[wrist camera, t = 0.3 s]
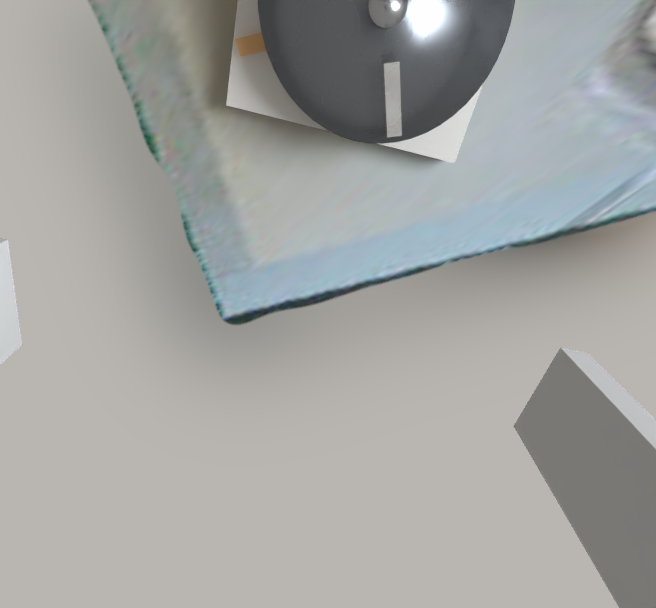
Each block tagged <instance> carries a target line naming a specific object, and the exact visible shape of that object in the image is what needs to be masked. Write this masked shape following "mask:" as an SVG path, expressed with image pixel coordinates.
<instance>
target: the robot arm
mask: <svg viewBox="0 0 656 608" xmlns="http://www.w3.org/2000/svg"><path fill="white" fill-rule="evenodd" d="M21 346H22V339H21V332H20V324H19V317H18V310H17V303H16V296H15V288H14V281H13V273H12V266H11V259H10V252H9V245H8V240H7V239H2V238H0V364H1V363H2V362H3V361H4V360H6V359H7V358H8V357H9V356H10V355H11V354H12V353H14V352H15V351H16V350H17V349H18V348H19V347H21ZM514 427H515V429H516V431H517V433H518V434H519V436H520V438H521V440H522V441H523V443H524V445H525V446H526V448H527V450H528V452H529V453H530V455H531V456H532V458H533V460H534V462H535V464H536V465H537V467H538V469H539V470H540V472H541V474H542V476H543V477H544V479H545V481H546V483H547V484H548V486H549V487H550V489H551V491H552V493H553V495H554V496H555V498H556V500H557V501H558V503H559V505H560V507H561V508H562V510H563V512H564V514H565V515H566V517H567V519H568V520H569V522H570V524H571V525H572V527H573V529H574V531H575V532H576V534H577V536H578V538H579V539H580V541H581V543H582V544H583V546H584V548H585V550H586V551H587V553H588V555H589V557H590V558H591V560H592V562H593V563H594V565H595V567H596V569H597V570H598V572H599V574H600V575H601V577H602V579H603V581H604V582H605V584H606V586H607V587H608V589H609V591H610V592H611V594H612V596H613V598H614V600H615V601H616V603H617V605H618V606H619V608H656V420H655V419H654V418H653V417H652V416H651V415H650V414H649V413H648V412H647V411H646V410H645V409H644V408H643V407H642V406H641V405H640V404H639V403H638V402H637V401H636V400H635V399H634V398H633V397H632V396H631V395H630V394H629V393H628V392H627V391H626V390H625V389H624V388H623V387H622V386H621V385H620V384H619V383H618V382H617V381H616V380H614V379H613V377H612V376H611V375H609V374H608V373H607V372H606V371H605V370H604V369H603V368H602V367H601V366H600V365H599V364H598V363H597V362H596V361H595V360H594V359H593V358H592V357H591V356H590V355H589V354H588V353H585V352H581V351H576V350H570V349H565V348H560V349H559V351H558V353H557V354H556V356H555V358H554V359H553V361H552V363H551V364H550V366H549V368H548V369H547V372H546V373H545V375H544V376H543V378H542V380H541V381H540V383H539V385H538V386H537V388H536V390H535V391H534V393H533V395H532V396H531V398H530V400H529V401H528V403H527V405H526V406H525V408H524V410H523V412H522V413H521V415H520V417H519V418H518V420H517V422H516V423H515V425H514Z"/></svg>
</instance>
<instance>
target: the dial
mask: <svg viewBox="0 0 656 608" xmlns="http://www.w3.org/2000/svg"><path fill="white" fill-rule="evenodd" d="M514 4H515V0H258V13H259V20H260V27H261V32H262V36H263V40H264V44H265V48H266V51H267V54H268V56H269V59H270V62H271V64H272V67H273V69H274V71H275V73H276V75H277V77H278V79H279V81H280V83H281V84H282V86H283V87H284V89H285V90H286V92H287V93H288V94H289V96H290V97H291V99H292V100H293V101H294V102H295V103H296V104H297V105H298V107H299V108H300V109H301V110H302V111H303V112H304V113H305V114H307V115H308V116H309V117H310V118H311V119H312V120H313V121H315V122H316V123H318V124H319V125H321V126H322V127H324V128H325V129H327V130H329V131H331V132H333V133H335V134H337V135H339V136H342V137H345V138H348V139H351V140H354V141H359V142H365V143H380V144H384V143H393V142H400V141H404V140H408V139H412V138H414V137H417V136H420V135H422V134H425V133H427V132H429V131H431V130H432V129H434V128H436V127H438V126H440V125H441V124H443V123H444V122H445V121H447V120H448V119H450V118H451V117H452V116H454V115H455V114H456V113H457V112H458V111H459V110H460V109H461V108H462V107H464V106H465V105H466V104H467V103H468V101H469V100H470V99H471V98H472V97H473V96H474V95H475V93H476V92H477V91H478V90H479V88H480V87H481V85H482V84H483V83H484V81H485V80H486V78H487V77H488V75H489V73H490V72H491V70H492V68H493V66H494V64H495V63H496V61H497V59H498V56H499V54H500V52H501V49H502V47H503V45H504V42H505V39H506V36H507V33H508V30H509V27H510V23H511V19H512V14H513V9H514Z"/></svg>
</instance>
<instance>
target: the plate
mask: <svg viewBox="0 0 656 608" xmlns="http://www.w3.org/2000/svg"><path fill="white" fill-rule="evenodd" d="M482 85H483V84H482ZM482 85H481V87H480V88H479V90H478V91H477V92H476V93H475V95H474V96H473V97H472V98H471V99H470V100H469V101H468V103H467V104H466V105H465V106H464V107H462V108H461V109H460V110H459V111H458V112H457V113H456V114H455V115H454V116H452V117H451V118H450V119H448V120H447V121H445V122H444V123H443V124H441V125H440V126H438V127H436V128H434V129H432V130H431V131H429V132H427V133H425V134H422V135H420V136H417V137H414V138H412V139H408V140H404V141H400V142H393V143H384V144H381V145H385V146H389V147H393V148H397V149H401V150H404V151H408V152H412V153H416V154H420V155H424V156H428V157H432V158H436V159H440V160H444V161H448V162H452V163H455V160H456V158H457V155H458V152H459V149H460V146H461V144H462V141H463V138H464V135H465V133H466V130H467V127H468V124H469V121H470V119H471V116H472V113H473V110H474V108H475V105H476V102H477V99H478V97H479V94H480V91H481V88H482ZM226 105H227V106H231V107H235V108H239V109H243V110H247V111H251V112H255V113H259V114H263V115H267V116H271V117H274V118H278V119H282V120H286V121H290V122H294V123H298V124H302V125H306V126H310V127H314V128H318V129H322V130H326V131H329V130H327V129H325V128H324V127H322V126H321V125H319V124H318V123H316V122H315V121H313V120H312V119H311V118H310V117H309V116H308V115H307V114H305V113H304V112H303V111H302V110H301V109H300V108H299V107H298V105H297V104H296V103H295V102H294V101H293V100H292V99H291V97H290V96H289V94H288V93H287V92H286V90H285V89H284V87H283V86H282V84H281V83H280V81H279V79H278V77H277V75H276V73H275V71H274V69H273V67H272V64H271V62H270V59H269V56H268V54H267V51H266V48H265V44H264V40H263V36H262V32H261V27H260V20H259V13H258V0H238V2H237V11H236V20H235V29H234V38H233V47H232V56H231V66H230V75H229V84H228V93H227V102H226ZM330 132H331V131H330ZM377 144H380V143H377Z"/></svg>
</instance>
